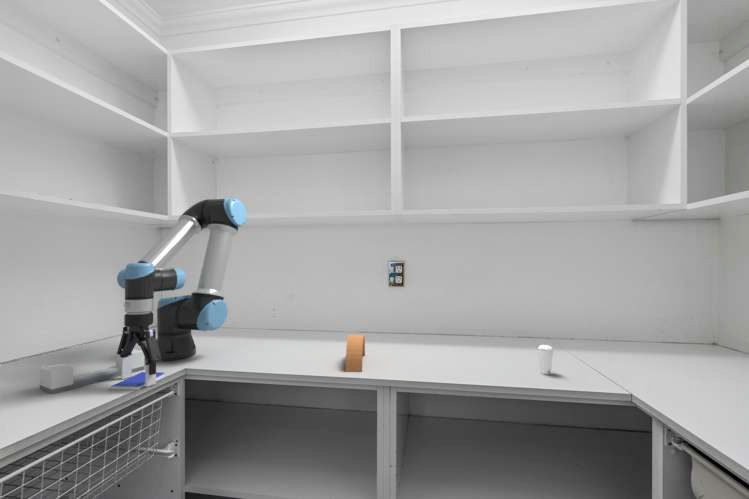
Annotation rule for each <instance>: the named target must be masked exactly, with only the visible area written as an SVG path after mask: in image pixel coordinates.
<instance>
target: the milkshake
mask: <svg viewBox="0 0 749 499" xmlns="http://www.w3.org/2000/svg"><path fill="white" fill-rule="evenodd" d="M554 347H555V344H553V345H552V346H551V345H550V344H549V345H548V344H541V345H539V346H538V347H537V351H538V361H539V373H540V374H543V375H547V376H549V375H552V369H553V356H554Z"/></svg>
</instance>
